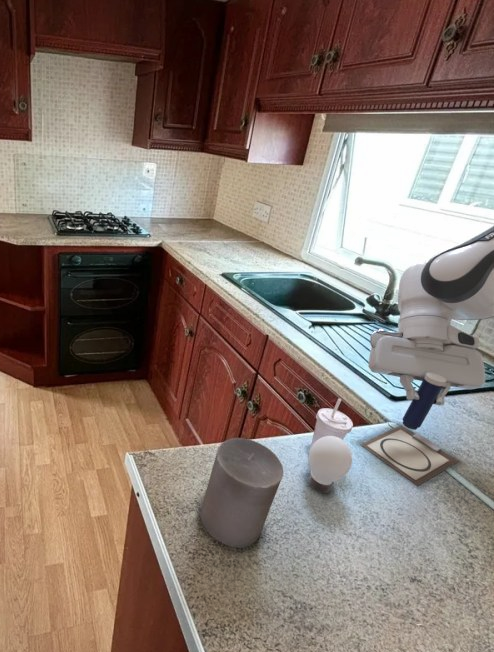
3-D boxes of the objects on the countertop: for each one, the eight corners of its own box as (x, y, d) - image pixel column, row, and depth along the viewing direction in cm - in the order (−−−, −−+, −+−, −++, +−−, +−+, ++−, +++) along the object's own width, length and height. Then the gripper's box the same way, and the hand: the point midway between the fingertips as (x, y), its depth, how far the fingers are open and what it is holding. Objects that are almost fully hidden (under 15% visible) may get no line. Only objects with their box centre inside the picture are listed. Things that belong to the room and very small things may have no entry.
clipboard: (457, 463, 84) (460, 459, 84) (416, 488, 77) (419, 484, 76) (400, 426, 93) (401, 423, 93) (358, 445, 86) (360, 441, 85)
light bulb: (344, 501, 72) (367, 455, 67) (308, 500, 71) (329, 453, 67) (325, 471, 78) (345, 427, 73) (292, 470, 77) (310, 426, 73)
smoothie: (304, 439, 86) (326, 386, 79) (337, 453, 83) (362, 398, 77) (300, 458, 81) (322, 402, 74) (334, 473, 78) (361, 416, 72)
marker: (422, 428, 83) (450, 379, 77) (413, 432, 81) (441, 383, 76) (406, 418, 85) (431, 370, 80) (397, 422, 84) (422, 374, 78)
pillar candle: (238, 492, 71) (260, 427, 65) (272, 543, 63) (301, 474, 56) (189, 502, 68) (206, 435, 62) (218, 557, 60) (241, 485, 53)
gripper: (378, 323, 83) (377, 389, 78) (488, 340, 80) (494, 410, 75) (363, 332, 88) (361, 394, 84) (465, 349, 86) (469, 414, 81)
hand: (425, 402), depth 80 cm, fingers closed on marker, 3 cm apart
